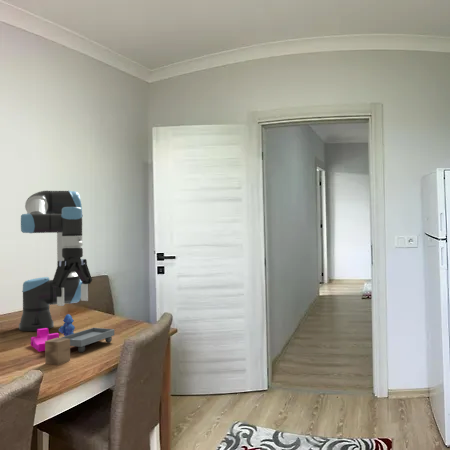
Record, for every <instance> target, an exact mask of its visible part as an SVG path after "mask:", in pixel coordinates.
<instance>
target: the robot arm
mask: <svg viewBox="0 0 450 450" xmlns="http://www.w3.org/2000/svg"><path fill="white" fill-rule="evenodd" d="M24 204H25V205H24V209H25V210H26V213H22V214H21V215H20V232H22V233H23V234H45V233H46V234H48V233H50V234H51V233H52V234H53V233H55V234H56V251H57V252H56V254H57V255H56V256H57V257H56V259H57V260H56V261H57V263H56V269H55V273H54V275H53V278H52V279H50V277H48V276H44V277H36V278H31V279H28V280H25V281H24V282H23V284H22V291H21V292H22V314H21V319H20V322H19V323H18V330H19V331H21V332H37V329H42V328H48V329H51V328H54V325H55V324H54V320H53V319H52V318H53V317H52V314H51V311H50V305H51V306H52V305H56V306H59V307H62V306H65V304H69V305H70V304H74V303H75V304H77V303H79V302H80V301H82V302H84V301H85V302H88V301H89V284H90V285H91V283H92V282H93V279H92V275H91V273H90V269H89V266H88V261H87V259H86V258H83V256H84V255H83V253H84V251H83V249H84V248H82V247H83V207H82V199H81V195H80V193H79V192H78V191H75V190H73V191H72V190H41V191H38V192H35V193H32V195H30V196H29V197H28V198H26V201H25V203H24Z"/></svg>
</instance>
